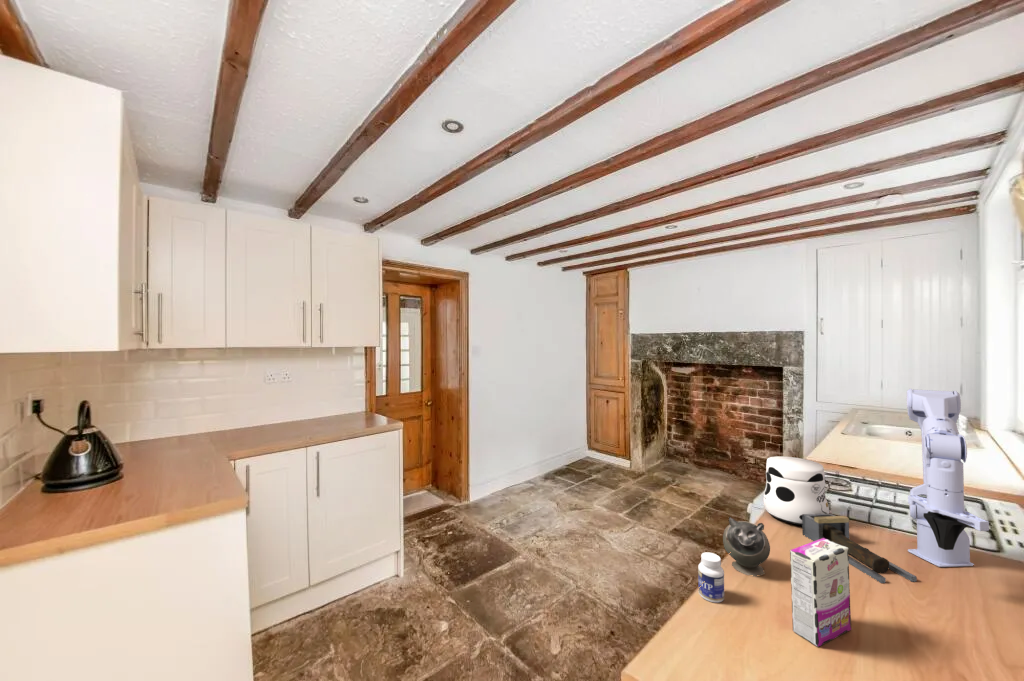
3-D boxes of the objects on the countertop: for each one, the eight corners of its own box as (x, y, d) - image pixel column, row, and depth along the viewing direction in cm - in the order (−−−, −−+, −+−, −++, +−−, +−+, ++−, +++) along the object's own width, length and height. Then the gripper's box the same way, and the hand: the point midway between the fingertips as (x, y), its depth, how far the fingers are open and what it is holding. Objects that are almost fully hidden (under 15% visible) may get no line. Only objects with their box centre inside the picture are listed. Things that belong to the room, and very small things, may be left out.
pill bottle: (693, 592, 92) (692, 553, 92) (709, 586, 94) (709, 548, 94) (713, 606, 87) (712, 565, 87) (729, 599, 89) (729, 559, 89)
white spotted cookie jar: (844, 531, 120) (843, 471, 121) (786, 531, 121) (785, 471, 121) (803, 507, 138) (802, 455, 138) (752, 507, 138) (751, 455, 138)
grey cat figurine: (731, 578, 97) (778, 582, 95) (729, 529, 98) (776, 531, 95) (718, 556, 107) (761, 559, 105) (717, 512, 107) (759, 513, 105)
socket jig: (831, 533, 119) (831, 509, 119) (916, 581, 95) (916, 551, 95) (802, 534, 118) (802, 510, 118) (880, 583, 94) (880, 552, 95)
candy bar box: (823, 615, 84) (822, 536, 84) (852, 630, 79) (850, 547, 79) (789, 631, 79) (788, 548, 79) (817, 648, 75) (816, 560, 75)
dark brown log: (891, 575, 98) (890, 556, 98) (874, 574, 98) (873, 555, 98) (832, 537, 117) (832, 521, 117) (818, 537, 117) (818, 521, 117)
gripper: (895, 477, 97) (896, 533, 97) (965, 501, 83) (967, 566, 83) (923, 476, 97) (924, 532, 97) (998, 500, 83) (999, 565, 83)
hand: (945, 548), depth 90 cm, fingers closed
